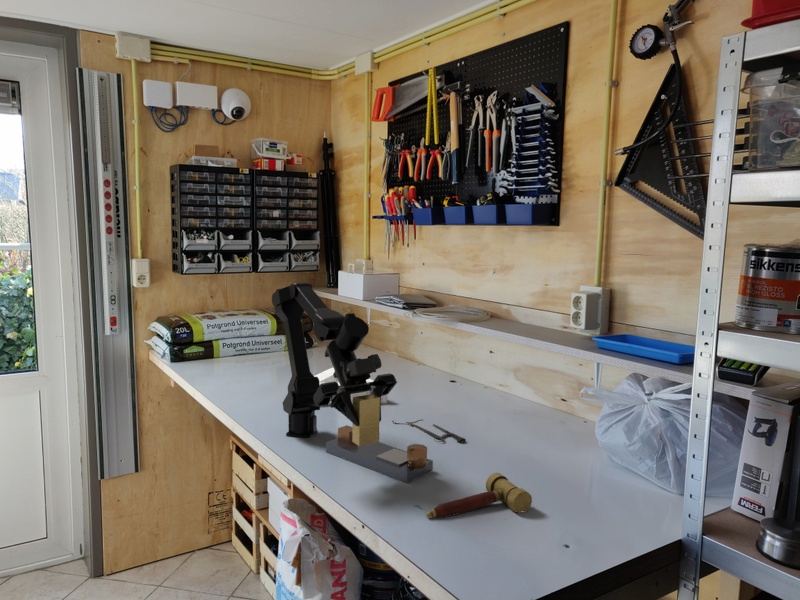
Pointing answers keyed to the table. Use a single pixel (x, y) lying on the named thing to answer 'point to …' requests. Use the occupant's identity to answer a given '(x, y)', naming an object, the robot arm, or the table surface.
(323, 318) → the robot arm
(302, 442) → the table surface
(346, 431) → the plane body
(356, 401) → the brushed brass block
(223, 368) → the table surface
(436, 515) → the gavel
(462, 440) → the bar clamp
